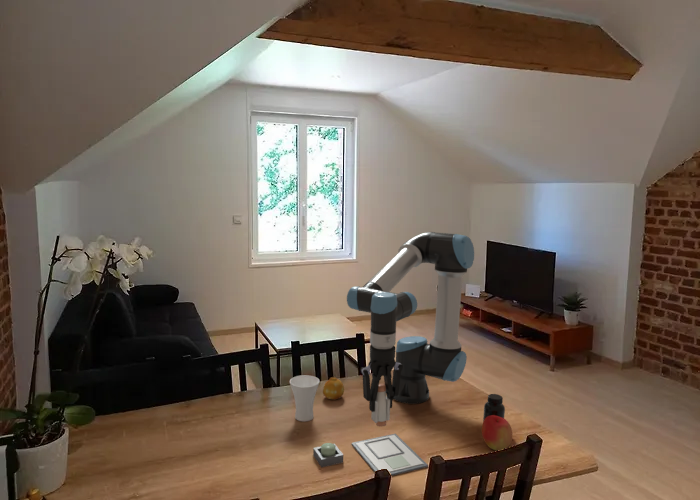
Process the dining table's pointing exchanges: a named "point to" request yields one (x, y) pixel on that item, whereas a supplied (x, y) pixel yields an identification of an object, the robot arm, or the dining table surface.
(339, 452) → the button housing
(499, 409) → the supplement bottle
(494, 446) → the apple
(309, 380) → the cup
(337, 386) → the fruit
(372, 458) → the grey rectangular board
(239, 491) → the dining table surface
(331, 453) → the button
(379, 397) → the marker
